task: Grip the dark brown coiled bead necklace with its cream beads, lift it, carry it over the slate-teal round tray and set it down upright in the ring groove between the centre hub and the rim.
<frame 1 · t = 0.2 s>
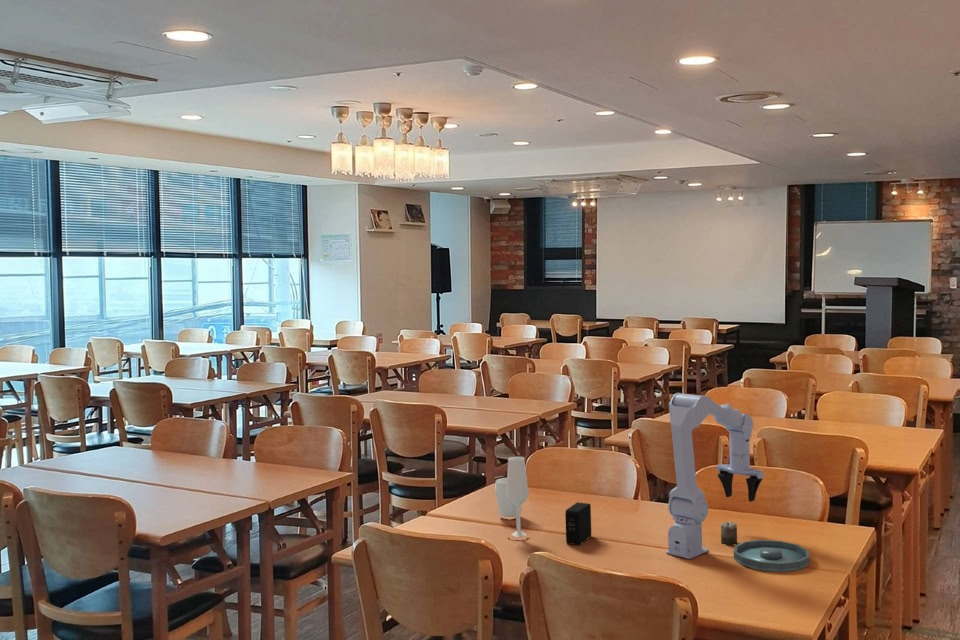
hand: (740, 498, 268), 10 cm above the table, tool pointing down, fingers open, 7 cm apart
round groove tray: (771, 559, 243), on the table
electronic device: (579, 540, 266), on the table
champagne flute: (519, 538, 270), on the table
bead necklace coil: (729, 543, 258), on the table
cup: (510, 518, 291), on the table
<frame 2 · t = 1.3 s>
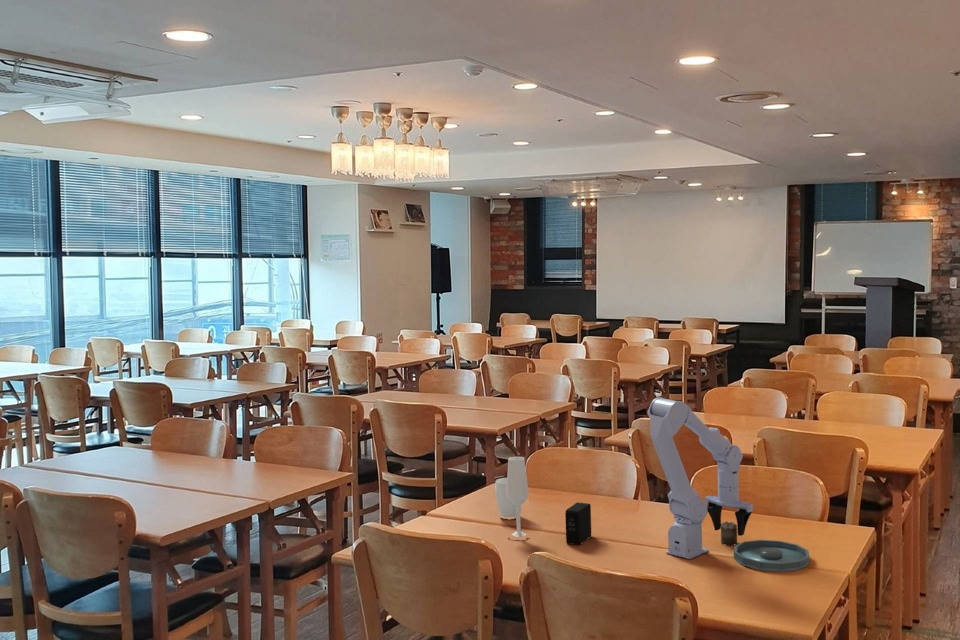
hand: (729, 532, 258), 3 cm above the table, tool pointing down, fingers open, 7 cm apart
nothing on the table moved.
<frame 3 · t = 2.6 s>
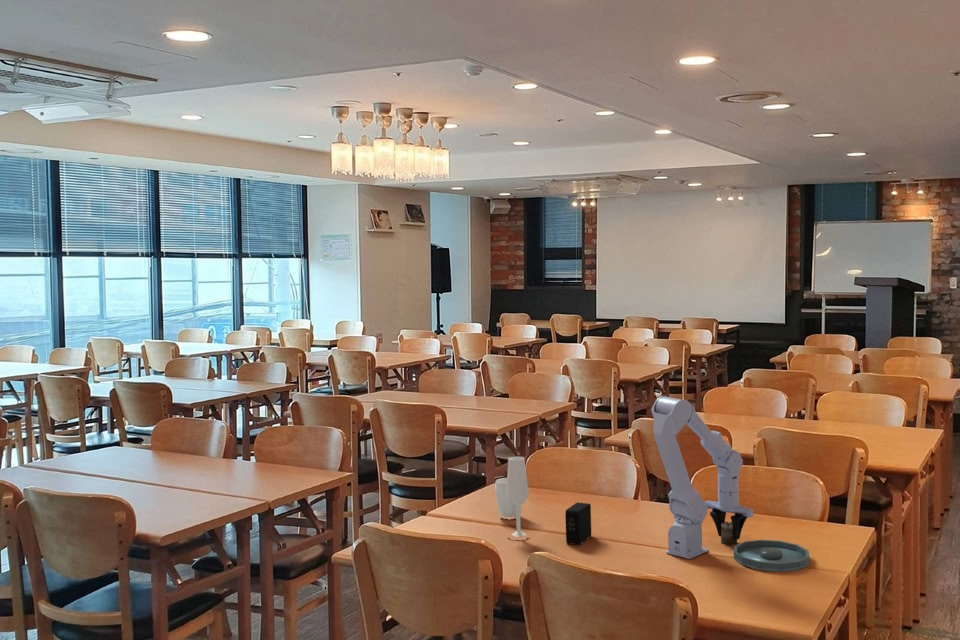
hand: (729, 537, 258), 2 cm above the table, tool pointing down, fingers closed on bead necklace coil, 4 cm apart
bead necklace coil: (729, 542, 258), on the table, touching gripper
everything else where it was.
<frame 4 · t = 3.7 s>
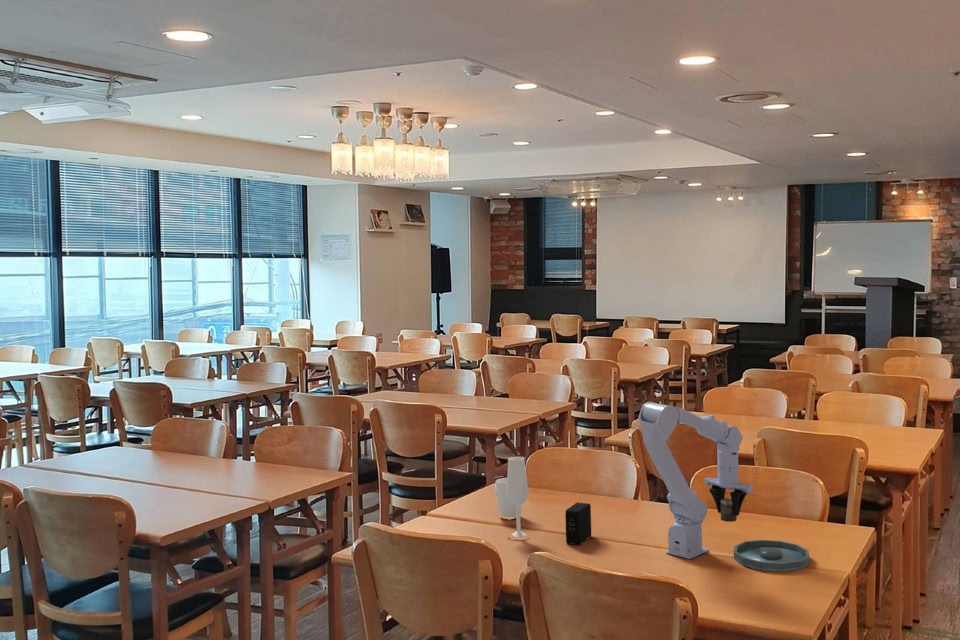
hand: (728, 513, 258), 8 cm above the table, tool pointing down, fingers closed on bead necklace coil, 4 cm apart
bead necklace coil: (728, 519, 258), point 7 cm above the table, touching gripper
everything else where it was.
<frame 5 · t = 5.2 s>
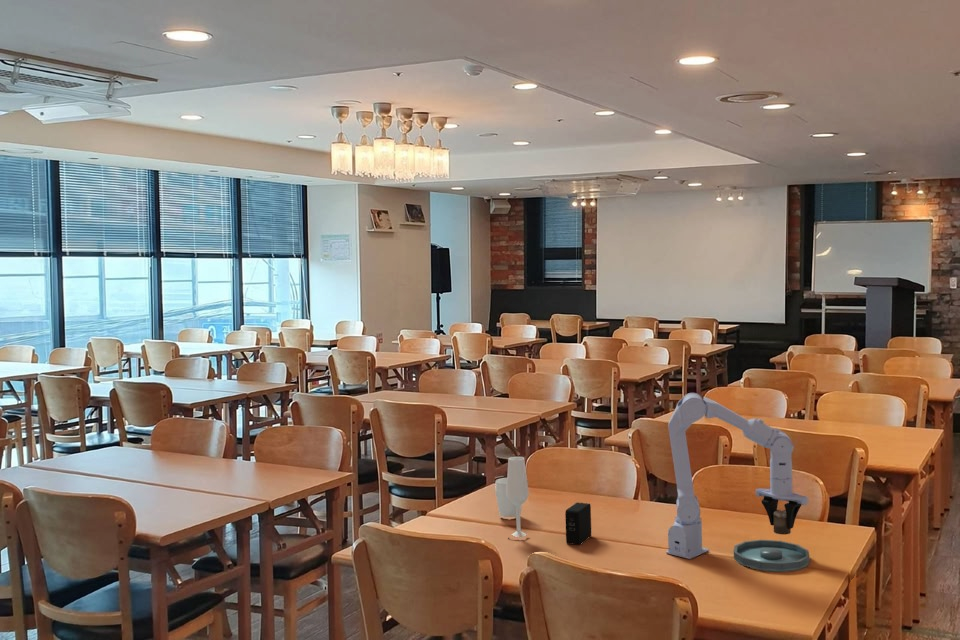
hand: (781, 526, 246), 8 cm above the table, tool pointing down, fingers closed on bead necklace coil, 4 cm apart
bead necklace coil: (782, 532, 247), point 6 cm above the table, touching gripper
everything else where it was.
when the fingers open (4 cm above the table, at t = 6.7 s): bead necklace coil drops 1 cm, resting on round groove tray.
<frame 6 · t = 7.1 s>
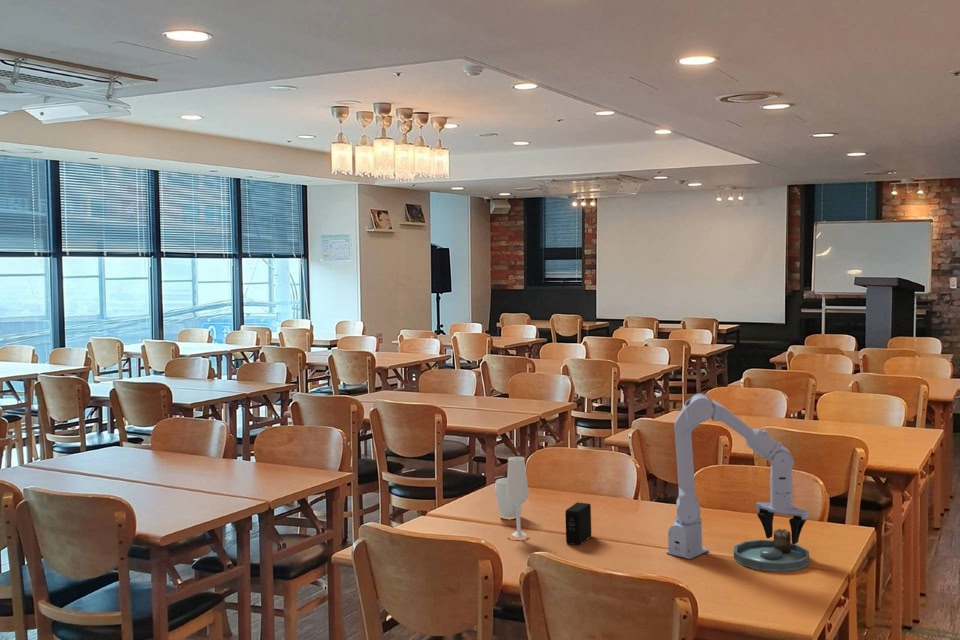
hand: (782, 540, 247), 4 cm above the table, tool pointing down, fingers open, 7 cm apart
bead necklace coil: (782, 551, 247), point 1 cm above the table, touching round groove tray
everything else where it was.
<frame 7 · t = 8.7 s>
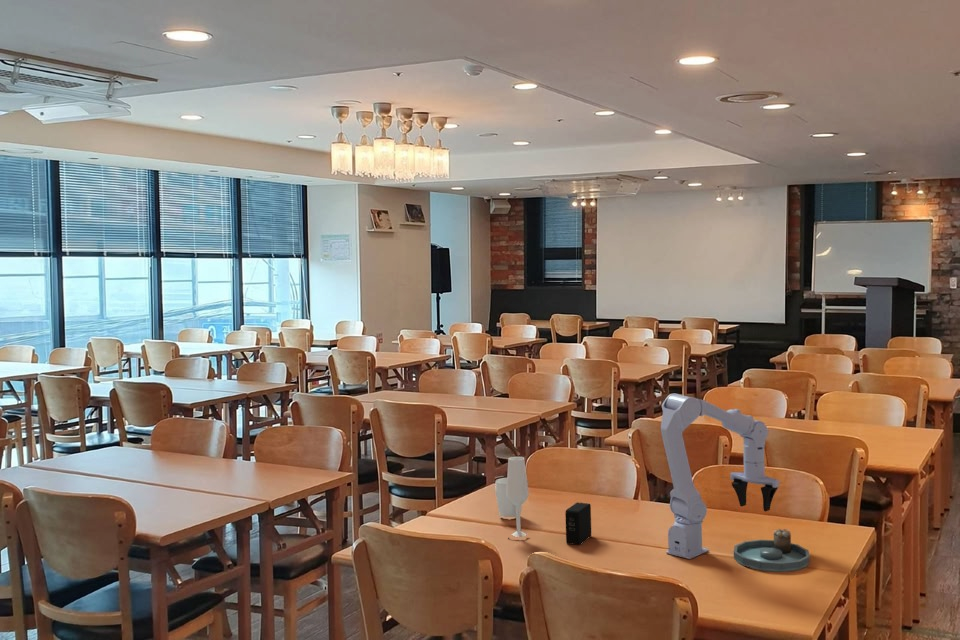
hand: (754, 508, 259), 9 cm above the table, tool pointing down, fingers open, 7 cm apart
nothing on the table moved.
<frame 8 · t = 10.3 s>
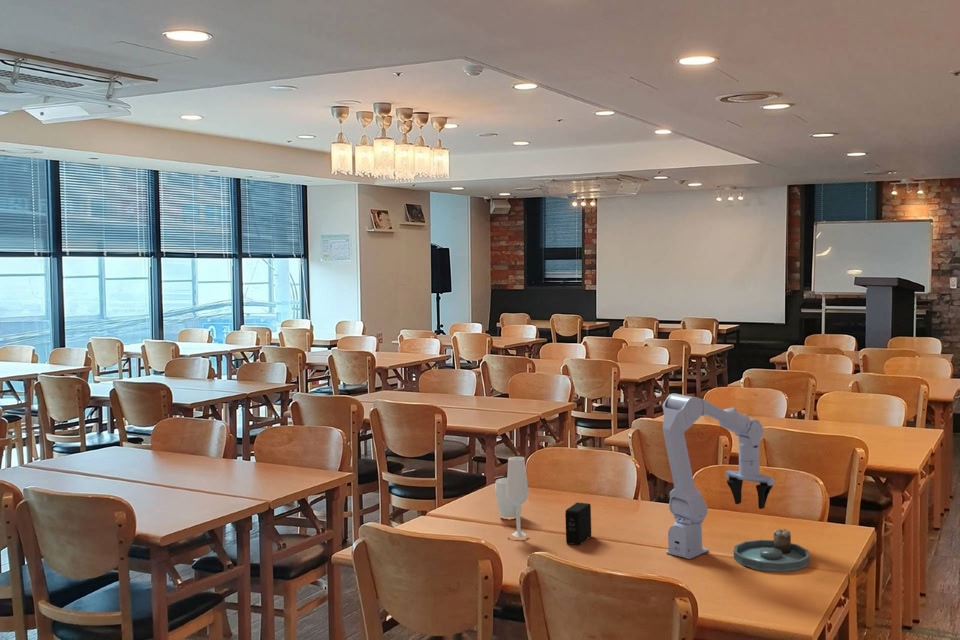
hand: (749, 505, 261), 9 cm above the table, tool pointing down, fingers open, 7 cm apart
nothing on the table moved.
at the end: bead necklace coil 0.1 cm from the target spot on the round groove tray, point 0.8 cm above the round groove tray's base; bead necklace coil tilted 0°; the gripper is holding nothing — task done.
